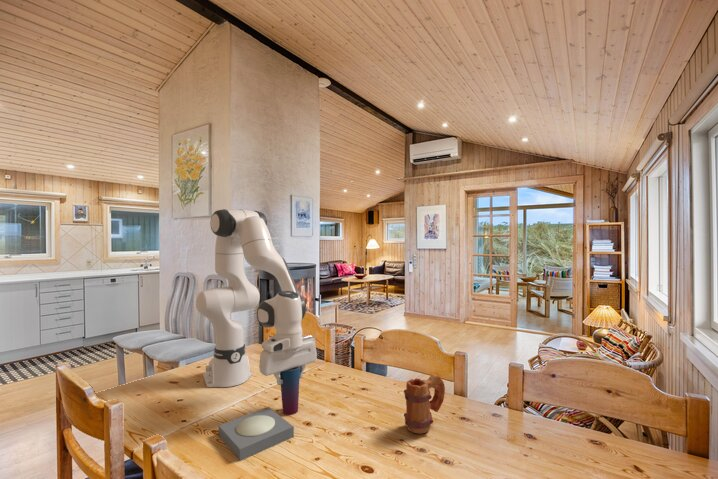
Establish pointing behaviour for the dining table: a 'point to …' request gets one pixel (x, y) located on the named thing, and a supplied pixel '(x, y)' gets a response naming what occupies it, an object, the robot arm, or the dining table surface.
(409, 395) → the mug
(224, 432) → the plinth
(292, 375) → the cup
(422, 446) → the dining table surface
